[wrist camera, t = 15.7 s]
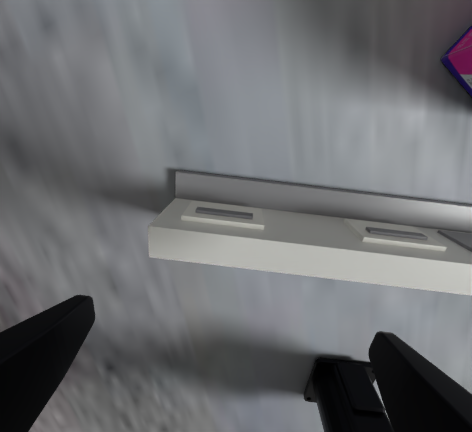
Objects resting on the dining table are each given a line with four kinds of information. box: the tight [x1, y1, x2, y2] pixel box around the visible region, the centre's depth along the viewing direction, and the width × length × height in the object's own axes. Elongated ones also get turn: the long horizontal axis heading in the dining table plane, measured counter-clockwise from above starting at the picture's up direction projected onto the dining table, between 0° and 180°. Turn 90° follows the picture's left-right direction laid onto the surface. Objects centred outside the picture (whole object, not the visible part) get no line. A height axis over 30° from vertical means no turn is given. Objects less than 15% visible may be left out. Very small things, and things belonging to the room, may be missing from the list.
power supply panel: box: [148, 170, 472, 295], centre depth 16 cm, size 6×30×6 cm, turn 84°
